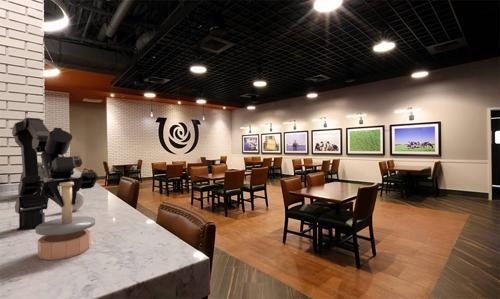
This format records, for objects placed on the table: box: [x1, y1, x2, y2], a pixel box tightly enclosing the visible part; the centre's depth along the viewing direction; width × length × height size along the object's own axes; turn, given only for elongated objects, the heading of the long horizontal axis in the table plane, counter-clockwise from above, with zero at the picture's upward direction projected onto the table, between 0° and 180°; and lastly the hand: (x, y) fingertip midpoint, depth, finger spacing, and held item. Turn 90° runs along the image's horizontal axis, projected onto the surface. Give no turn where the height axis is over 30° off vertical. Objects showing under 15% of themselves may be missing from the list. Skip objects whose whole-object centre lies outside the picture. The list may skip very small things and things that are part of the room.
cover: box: [35, 182, 96, 236], centre depth 73 cm, size 14×14×13 cm
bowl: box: [37, 229, 92, 261], centre depth 73 cm, size 12×12×4 cm
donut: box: [59, 190, 85, 212], centre depth 119 cm, size 10×4×10 cm, turn 134°
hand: (68, 205), depth 73 cm, fingers closed on cover, 2 cm apart
